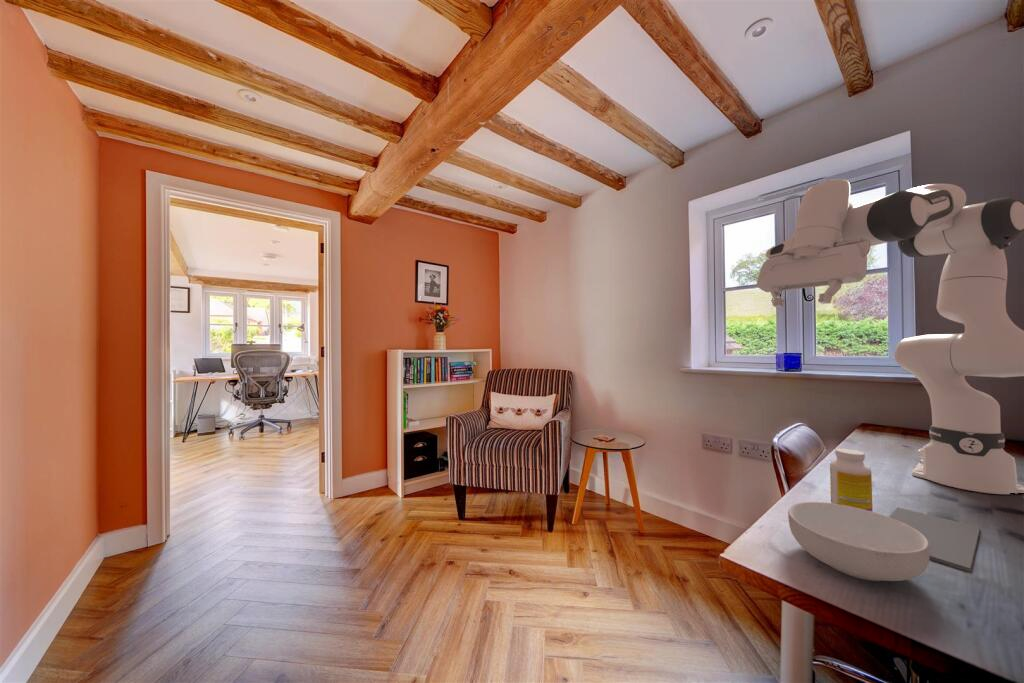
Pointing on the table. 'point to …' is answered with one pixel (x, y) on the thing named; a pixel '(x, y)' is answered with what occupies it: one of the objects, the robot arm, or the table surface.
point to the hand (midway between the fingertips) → (799, 304)
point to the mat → (943, 537)
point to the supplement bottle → (851, 480)
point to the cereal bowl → (859, 541)
